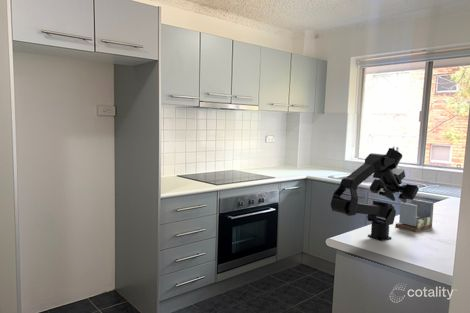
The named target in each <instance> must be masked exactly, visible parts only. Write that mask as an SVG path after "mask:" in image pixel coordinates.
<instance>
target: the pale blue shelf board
mask: <svg viewBox="0 0 470 313" xmlns="http://www.w3.org/2000/svg"><path fill="white" fill-rule="evenodd" d="M398 219H399V222H398V223H403V224H407V225H411V226H417V225H418V220H419V219H421V220H424V219H423V218H419V217H417V205H412V204H411V203H407V202H406V203H404V202H402V201H401V202H400V204H399V218H398Z"/></svg>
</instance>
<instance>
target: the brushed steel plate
mask: <svg viewBox="0 0 470 313" xmlns="http://www.w3.org/2000/svg"><path fill="white" fill-rule="evenodd" d="M410 201H411V203H410V204H412V205H417V217H419V218H423V219H424V218H427V217H430V224H432V225H433V218H434V217H433V216H434V202H433V201H427V200H421V199H417V198H416V199H415V198H414V199H413V200H410ZM419 220H420V219H419Z"/></svg>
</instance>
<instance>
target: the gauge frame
mask: <svg viewBox="0 0 470 313" xmlns="http://www.w3.org/2000/svg"><path fill="white" fill-rule="evenodd" d="M432 227H433V223H432V224H430V217H427V218H424V220H421V219H420V220H418V225H417V226H411V225H407V224H403V223H399V222H396V223H395V228H397V229H398V228H399V229H403V230H407V231H410V232H414V233H417V232H420V231H423V230H425V229H430V228H432Z"/></svg>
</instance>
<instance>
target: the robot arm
mask: <svg viewBox="0 0 470 313" xmlns="http://www.w3.org/2000/svg"><path fill="white" fill-rule="evenodd" d="M402 159H403V154H402V152H399V151H398V150H396V149H395V148H394V147H388V150H387V152H386V154H385V153H369V154H368V155H367V156H366V157H365V159H364V163H363V164H362V165H360V166H359V167H358V168H357V169H355V170H354V171H352V172H351V173H350V174H349V175H347V176H346V177H343V178H342V179H341V181H340V183H339V186H338V187H337V189H336V190H335V191H334V192H333V195H332V199H331V202H330V207H331V208H330V209H331V211H332V212H333V213H336V214H341V215H344V216H347V217H351V216H355V215H357V214H359V215H360V214H361V215H367V216H366V219H367V221H368V222H371V227H370V228H371V229H370V230H371V232H370V234H367V236H368V237H370V238H372V239H376V240H378V241H385V240H391V239H392V236H389V235H390V226H392V225H394V222H395V218H396V215H397V214H396V212H397V211H396V209H395V206H393V203H388V202H384V201H378V200H372V204H368V203H363V202H362V203H361V202H359V197H358V192H357V190H358V186H360V185H361V184H362V183H363V182H365V181H366V180H367V179H368V178H369V177H371V176H372V178H374V179H373V180H372V182H371V183H370V185H369V191H370V193H372V194H378V195H379V196H382V197H384V198H386V199H388V200H391V201H392V202H395V200H396V197H395V195H394V194H395V193H397V194H399V195H398V197H397V198H398V199H399V200H400V201H401V202H402V203H407V200H410V201H411V200H413V199H415V198H416V196H417V193H418V192H419V190H420V188H419V186H418V185H417V184H412V183H407V184H402V183H403V179H404V178H406V172H405V169H402V168H397V167H398V165H399V163H400V162H401V160H402ZM401 184H402V185H401ZM346 190H349V191H350V199H349V198H345V197H341V196H342V195H343V194H344V193H345V192H346Z"/></svg>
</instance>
